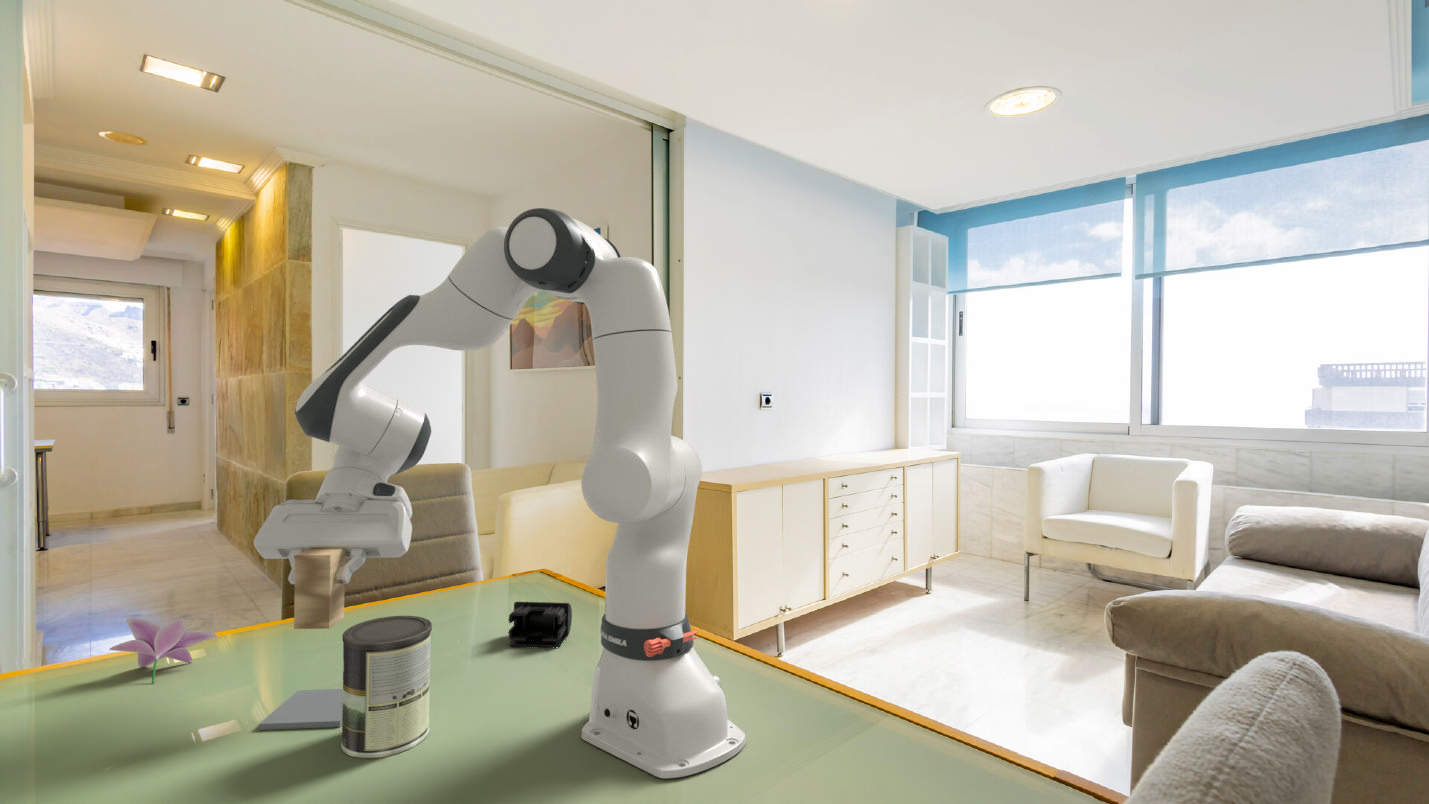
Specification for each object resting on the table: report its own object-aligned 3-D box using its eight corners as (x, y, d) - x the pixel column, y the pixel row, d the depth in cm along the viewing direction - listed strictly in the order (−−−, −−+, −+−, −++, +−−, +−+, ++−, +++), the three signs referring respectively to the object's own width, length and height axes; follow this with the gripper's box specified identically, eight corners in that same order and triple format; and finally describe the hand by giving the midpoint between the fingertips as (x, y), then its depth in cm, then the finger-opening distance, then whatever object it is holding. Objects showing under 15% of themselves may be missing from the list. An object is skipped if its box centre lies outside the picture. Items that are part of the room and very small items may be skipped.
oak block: (343, 617, 94) (345, 547, 94) (329, 628, 89) (330, 555, 89) (310, 618, 93) (311, 547, 93) (293, 629, 89) (295, 555, 89)
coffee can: (322, 758, 80) (324, 641, 79) (369, 717, 90) (371, 614, 90) (405, 761, 79) (407, 644, 79) (443, 719, 89) (445, 616, 89)
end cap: (571, 634, 123) (572, 598, 123) (562, 649, 116) (562, 610, 116) (518, 633, 123) (519, 597, 123) (505, 647, 116) (506, 609, 116)
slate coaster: (370, 693, 97) (370, 688, 97) (340, 727, 87) (340, 721, 87) (298, 695, 96) (298, 690, 96) (258, 730, 86) (259, 723, 86)
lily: (226, 673, 106) (227, 613, 109) (163, 672, 95) (167, 605, 99) (153, 695, 105) (157, 634, 109) (81, 697, 95) (88, 629, 98)
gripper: (269, 487, 97) (227, 571, 87) (414, 487, 99) (388, 569, 90) (284, 512, 101) (246, 594, 92) (423, 512, 104) (400, 592, 94)
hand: (318, 582), depth 91 cm, fingers closed on oak block, 4 cm apart
